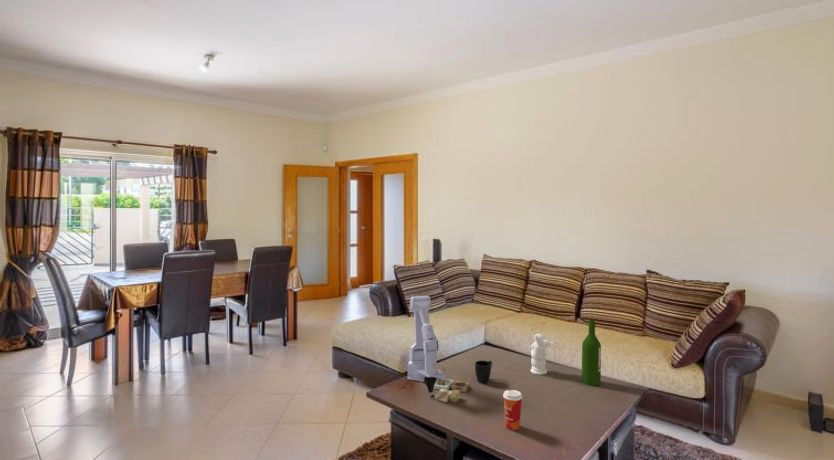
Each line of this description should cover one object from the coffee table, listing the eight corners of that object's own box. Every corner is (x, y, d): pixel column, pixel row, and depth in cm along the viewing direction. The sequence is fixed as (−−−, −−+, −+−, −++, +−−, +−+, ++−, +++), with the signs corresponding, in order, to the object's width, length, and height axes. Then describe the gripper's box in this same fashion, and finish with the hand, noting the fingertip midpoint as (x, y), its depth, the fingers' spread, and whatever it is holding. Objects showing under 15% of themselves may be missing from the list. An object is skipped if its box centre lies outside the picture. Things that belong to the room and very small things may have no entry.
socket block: (451, 389, 211) (451, 385, 211) (456, 384, 217) (456, 380, 217) (465, 392, 208) (465, 388, 208) (469, 386, 214) (469, 383, 214)
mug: (498, 379, 224) (498, 361, 224) (485, 385, 215) (485, 367, 215) (484, 375, 230) (484, 357, 229) (471, 381, 221) (471, 363, 221)
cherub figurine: (534, 367, 241) (535, 328, 240) (556, 372, 234) (557, 332, 233) (526, 373, 231) (527, 333, 230) (549, 379, 224) (549, 337, 223)
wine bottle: (601, 387, 213) (602, 322, 212) (582, 384, 216) (582, 321, 215) (599, 380, 222) (600, 318, 221) (581, 378, 225) (582, 317, 223)
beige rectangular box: (434, 400, 200) (434, 395, 200) (441, 393, 207) (441, 388, 207) (446, 403, 197) (446, 397, 197) (452, 396, 205) (452, 391, 204)
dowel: (444, 386, 214) (444, 370, 214) (437, 385, 215) (437, 369, 215) (445, 383, 217) (445, 367, 217) (439, 382, 218) (439, 367, 218)
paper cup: (500, 422, 178) (500, 389, 177) (518, 421, 179) (518, 388, 178) (506, 432, 170) (506, 397, 170) (524, 431, 171) (525, 396, 170)
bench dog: (450, 401, 198) (450, 393, 198) (454, 396, 203) (454, 389, 203) (456, 402, 197) (456, 394, 197) (460, 398, 202) (460, 390, 201)
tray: (428, 387, 214) (428, 384, 214) (435, 380, 223) (435, 377, 223) (446, 391, 209) (446, 387, 209) (454, 383, 218) (454, 380, 218)
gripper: (413, 364, 204) (413, 392, 205) (441, 369, 198) (441, 397, 199) (419, 359, 211) (419, 386, 211) (447, 364, 204) (447, 392, 205)
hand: (430, 391), depth 205 cm, fingers closed
